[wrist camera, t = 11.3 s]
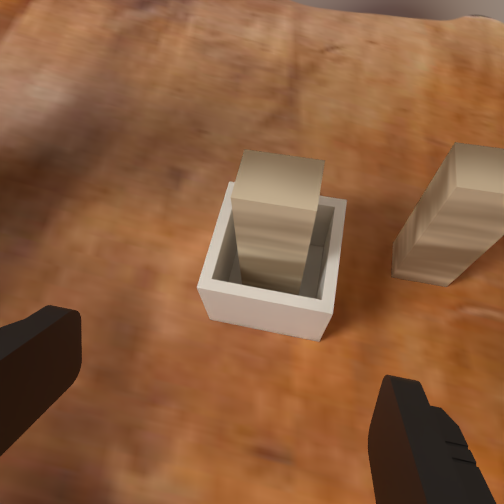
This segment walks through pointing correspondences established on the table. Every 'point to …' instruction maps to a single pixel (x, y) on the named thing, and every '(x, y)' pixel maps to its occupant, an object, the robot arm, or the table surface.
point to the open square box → (267, 301)
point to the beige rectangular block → (453, 217)
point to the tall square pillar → (275, 217)
